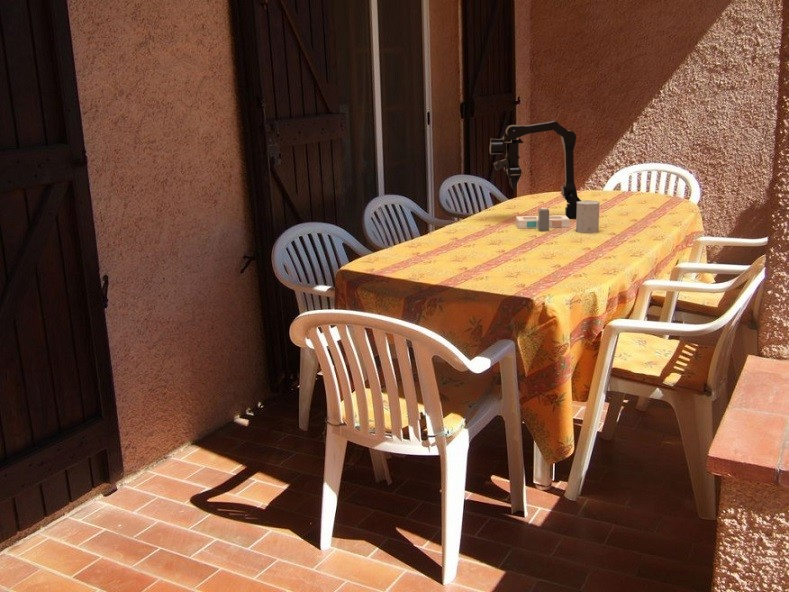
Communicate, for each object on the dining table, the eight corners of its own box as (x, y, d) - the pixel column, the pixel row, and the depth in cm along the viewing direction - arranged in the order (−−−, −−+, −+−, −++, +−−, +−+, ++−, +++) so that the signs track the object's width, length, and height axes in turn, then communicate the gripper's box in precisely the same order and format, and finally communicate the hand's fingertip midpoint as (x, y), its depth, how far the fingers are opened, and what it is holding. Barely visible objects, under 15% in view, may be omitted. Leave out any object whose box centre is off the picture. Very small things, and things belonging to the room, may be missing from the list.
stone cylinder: (573, 232, 373) (573, 203, 370) (579, 228, 381) (580, 199, 378) (595, 233, 368) (596, 204, 365) (601, 229, 377) (602, 201, 373)
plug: (547, 229, 381) (547, 207, 378) (548, 231, 377) (549, 208, 374) (538, 229, 381) (538, 207, 378) (539, 231, 377) (539, 209, 374)
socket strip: (565, 222, 393) (565, 215, 392) (569, 227, 383) (569, 219, 382) (515, 224, 393) (516, 216, 393) (518, 228, 383) (519, 220, 382)
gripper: (493, 151, 406) (493, 185, 410) (496, 156, 388) (496, 191, 392) (517, 151, 406) (517, 184, 410) (521, 155, 388) (521, 190, 392)
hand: (512, 187), depth 401 cm, fingers open, 9 cm apart
